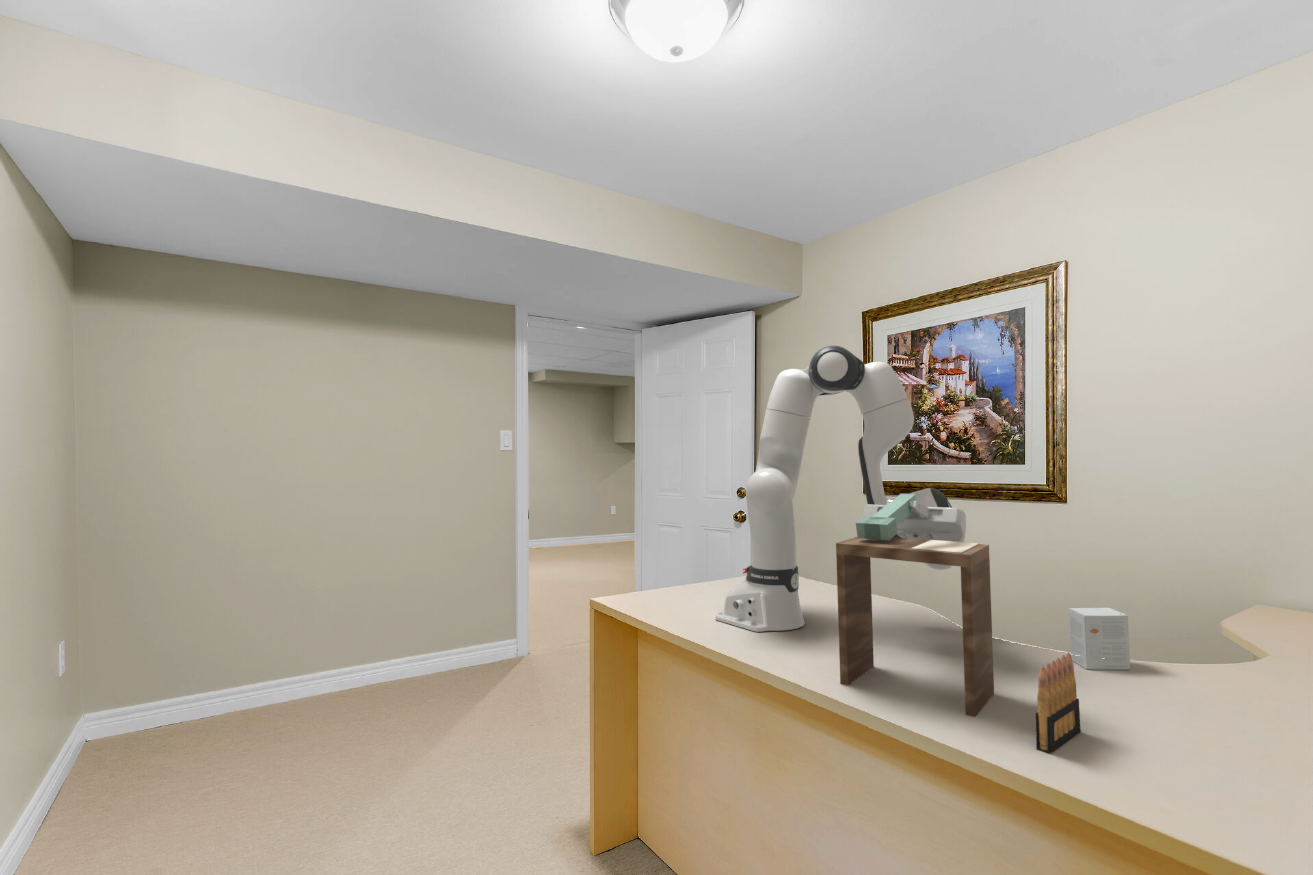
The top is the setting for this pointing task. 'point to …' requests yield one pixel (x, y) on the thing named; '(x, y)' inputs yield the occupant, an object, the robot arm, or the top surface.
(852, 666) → the walnut shelf
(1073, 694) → the ammunition clip
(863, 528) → the sage lever
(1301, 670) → the top surface
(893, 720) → the top surface
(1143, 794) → the top surface
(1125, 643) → the small box
